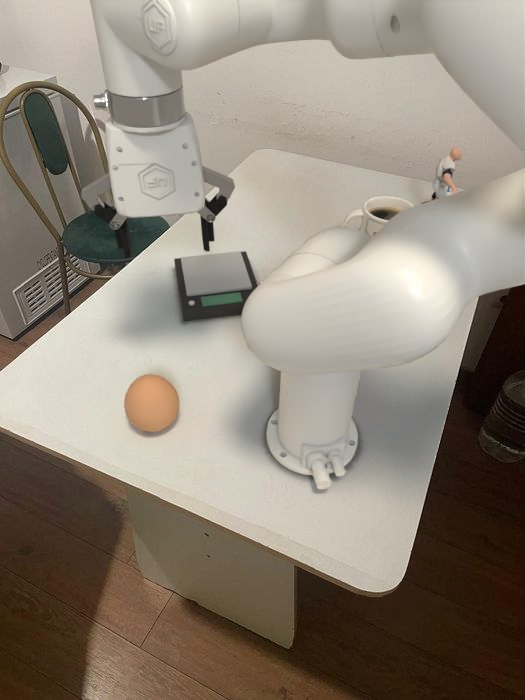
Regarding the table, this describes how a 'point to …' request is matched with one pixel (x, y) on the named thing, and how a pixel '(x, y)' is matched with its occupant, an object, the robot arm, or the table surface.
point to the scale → (214, 284)
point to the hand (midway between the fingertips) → (167, 248)
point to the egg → (151, 403)
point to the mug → (378, 213)
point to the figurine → (445, 175)
